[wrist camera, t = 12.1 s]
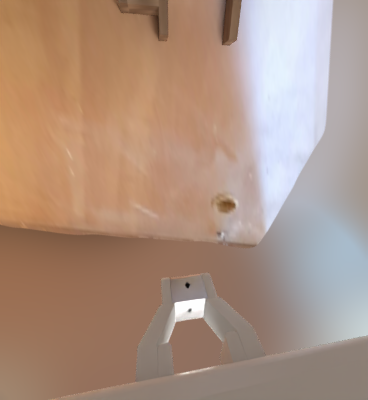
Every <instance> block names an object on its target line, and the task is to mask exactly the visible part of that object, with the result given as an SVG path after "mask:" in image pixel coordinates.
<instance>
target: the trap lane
mask: <svg viewBox="0 0 368 400" xmlns="http://www.w3.org/2000/svg"><path fill="white" fill-rule="evenodd" d="M241 1H242V0H226V10H225V21H224V31H223V42H222V45H231V44H232V43H233V42H235V41H236V40H237V34H238V26H239V18H240V10H241ZM118 5H119V7H120V10H121V12H122V13H133V14H144V15H155V16H158V29H159V41H167V38H168V0H118Z"/></svg>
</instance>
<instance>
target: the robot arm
mask: <svg viewBox="0 0 368 400" xmlns="http://www.w3.org/2000/svg"><path fill="white" fill-rule="evenodd" d="M161 289H162V305H160V306H159V308H158V310H157V312H156V314H155V316H154V317H153V319H152V321H151V323H150V325H149V327H148V329H147V330H146V332H145V334H144V336H143V338H142V340H141V342H140V344H139V345H138V350H137V366H136V382H134V383H130V384H124V385H119V386H114V387H109V388H104V389H100V390H95V391H90V392H85V393H80V394H75V395H70V396H65V397H60V398H55V399H50V400H368V336H363V337H358V338H353V339H348V340H344V341H339V342H334V343H328V344H324V345H318V346H314V347H309V348H303V349H298V350H294V351H288V352H284V353H278V354H273V355H269V356H266V355H265V352H264V350H263V348H262V346H261V344H260V341H259V339H258V337H257V334H256V333H255V330H254V328H253V327H252V326H251V325H250V324H249V323H248V322H247V321H246V320H245V319H243V317H241V316H240V315H239V314H238V313H237V312H236V311H235V310H234V309H232V307H231V306H229V305H228V304H227V303H226V302H225V301H224V300H223V299H222V298H221V297H217V294H216V291H215V288H214V285H213V282H212V279H211V277H210V274H209V273H203V274H193V275H187V276H180V277H170V278H162V279H161ZM196 318H204V320H205V321H206V322H207V323H208V325H209V326H210V327H211V328H212V330H213V331H214V332H215V333H216V335H217V336H218V337H219V338H220V339H221V341H222V342H223V347H222V350H221V354H220V361H221V365H219V366H214V367H209V368H204V369H199V370H194V371H189V372H184V373H179V374H174V370H173V357H172V346H171V344H169V343H168V341H169V338H170V336H171V333H172V330H173V328H174V325H175V322H178V321H183V320H188V319H196Z"/></svg>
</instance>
